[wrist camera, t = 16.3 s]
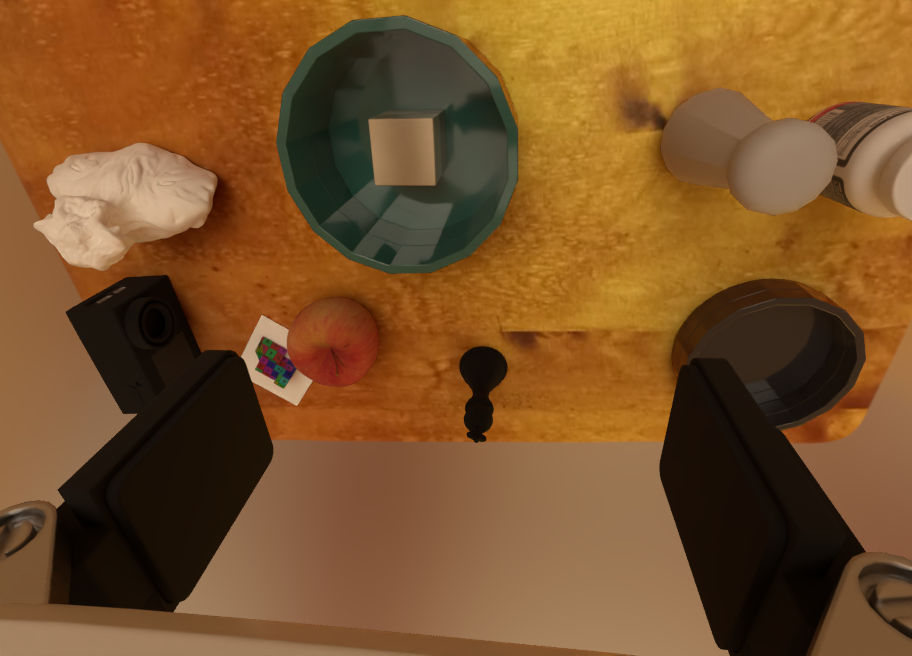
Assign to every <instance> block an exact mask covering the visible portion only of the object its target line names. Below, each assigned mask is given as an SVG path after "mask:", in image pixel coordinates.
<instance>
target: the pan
mask: <svg viewBox="0 0 912 656" xmlns="http://www.w3.org/2000/svg"><path fill="white" fill-rule="evenodd" d="M693 358H724V359H726V360H727V361H728V362H729V363H730V364H731V366H732V367H733V369H734V370H735V372H736V373H737V375H738V376H739V378H740V379H741V381H742V382H743V384H744V385H745V386H746V388H747V389H748V391H749V392H750V394H751V395H752V397H753V398H754V400H755V401H756V403H757V404H758V406H759V407H760V408H761V410H762V411H763V413H764V414H765V416H766V417H767V419H768V420H769V422H770V423H771V425H772V426H774V427H776V428H778V429H779V430H780V431H781V430H785V429H790V428H794V427H798V426H801V425H803V424H804V423H806V422H808V421H810V420H812V419H814V418H816V417H818V416H819V415H821V414H823V413H825V412H827V411H829V410H830V409H832V408H833V407H834V406H835V405H836V404H837V403H838V402H839V401H840V400H841V399H842V398H843V397H844V396H845V395H846V394H847V393H848V392H849V391H850V390H851V389H852V388H853V387H854V385H855V383H856V380H857V378H858V376H859V374H860V372H861V369H862V367H863V365H864V363H865V360H866V355H865V344H864V334H863V331H862V330H861V328H860V327H859V326H858V325H857V324H856V322H855V321H854V320H853V319H852V318H851V316H850V315H849V314H848V313H847V311H846V310H844V309H843V308H842V307H840V306H839V305H838V304H837V303H835V302H834V301H833V300H831V299H830V298H829V297H827V296H826V295H825V294H823V293H822V292H819V291H817V290H815V289H813V288H811V287H809V286H807V285H805V284H802V283H799V282H796V281H791V280H785V279H761V280H755V281H749V282H745V283H742V284H738V285H735V286H733V287H730V288H728V289H725V290H723V291H721V292H720V293H718V294H716V295H714V296H713V297H711V298H709V299H708V300H706V301H705V302H704V303H703V304H701V305H700V306H699V307H698V308H697V309H696V310H695V311H694V312H693V313H692V314H691V315H690V316H689V317H688V318H687V319H686V321H685V322H684V323H683V325H682V327H681V328H680V330H679V332H678V334H677V336H676V338H675V342H674V345H673V350H672V365H673V370H674V373H675V375H676V378H677V380H678V376H679V371H680V368H681V366H682V365H689V364H690V362H691V360H692V359H693Z"/></svg>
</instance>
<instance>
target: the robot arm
mask: <svg viewBox="0 0 912 656" xmlns="http://www.w3.org/2000/svg"><path fill="white" fill-rule="evenodd" d="M272 457H273V444H272V441H271V438H270V435H269V432H268V429H267V426H266V423H265V420H264V417H263V414H262V411H261V408H260V405H259V402H258V399H257V396H256V393H255V390H254V387H253V384H252V381H251V378H250V375H249V372H248V368H247V365H246V363H245V361H244V359H243V358H241V357H239V356H238V354H237V353H236V352H234V351H232V350H207V351H205V352H203V353H202V354H201V355H200V356H199V357H197V358H196V359H195V360H194V361H193V362H192V363H191V364H190V365H189V366H188V367H187V368H186V369H185V370H184V371H183V372H182V373H181V374H179V375H178V376H177V377H176V378H175V379H174V380H173V381H172V382H171V383H170V384H169V385H168V386H167V387H166V388H165V389H164V390H163V391H162V392H160V393H159V394H158V395H157V396H156V397H155V398H154V399H153V400H152V401H151V402H150V403H149V404H148V405H147V406H146V407H145V408H144V409H142V410H141V411H140V412H139V413H138V414H137V415H136V416H135V417H134V418H133V419H132V420H131V421H130V422H129V423H128V424H127V425H126V426H125V427H124V428H123V429H122V430H120V431H119V432H118V433H117V434H116V435H115V436H114V437H113V438H112V439H111V440H110V441H109V442H108V443H107V444H105V445H104V446H103V447H102V448H101V449H100V450H99V451H98V452H97V453H96V454H95V455H94V456H93V457H92V458H91V459H90V460H89V461H88V462H86V463H85V464H84V465H83V466H82V467H81V468H80V469H79V470H78V471H77V472H76V473H75V474H74V475H73V476H72V477H71V478H70V479H68V480H67V482H65V483H64V484H63V485H62V486H61V487H60V488H59V489H58V491H59V493H60V494H61V496H62V497H63V499H64V500H65V502H63V503H62V505H61V506H59V507H58V508H57V509H56V507H55V506H54V505H52V504H51V503H50V502H45V501H39V500H38V501H29V502H24V503H20V504H17V505H14V506H11V507H8V508H6V509H4V510H2V511H0V656H634V655H626V654H617V653H607V652H597V651H587V650H576V649H566V648H556V647H546V646H536V645H525V644H515V643H504V642H494V641H484V640H473V639H463V638H453V637H442V636H432V635H421V634H410V633H399V632H388V631H377V630H366V629H356V628H345V627H334V626H322V625H311V624H300V623H289V622H279V621H267V620H256V619H243V618H232V617H220V616H208V615H197V614H186V613H174V610H175V609H176V607H177V605H178V604H179V602H181V601H184V600H185V599H186V598H187V597H188V596H189V595H190V594H191V592H192V591H193V589H194V587H195V586H196V584H197V582H198V581H199V579H200V578H201V576H202V574H203V573H204V571H205V569H206V568H207V566H208V564H209V562H210V561H211V559H212V558H213V556H214V554H215V553H216V551H217V550H218V548H219V546H220V545H221V543H222V541H223V540H224V538H225V536H226V535H227V533H228V531H229V530H230V528H231V526H232V525H233V523H234V522H235V520H236V518H237V517H238V515H239V513H240V512H241V510H242V508H243V507H244V505H245V503H246V502H247V500H248V498H249V497H250V495H251V494H252V492H253V490H254V489H255V487H256V485H257V483H258V482H259V480H260V479H261V477H262V475H263V474H264V472H265V470H266V469H267V467H268V466H269V464H270V462H271V460H272ZM660 478H661V481H662V484H663V487H664V490H665V493H666V496H667V499H668V502H669V505H670V508H671V511H672V514H673V517H674V520H675V523H676V526H677V529H678V532H679V535H680V538H681V541H682V544H683V547H684V550H685V553H686V556H687V559H688V562H689V565H690V568H691V571H692V574H693V577H694V580H695V583H696V586H697V589H698V592H699V595H700V598H701V601H702V604H703V607H704V610H705V613H706V616H707V619H708V622H709V625H710V628H711V631H712V634H713V637H714V640H715V642H716V644H717V646H718V647H719V648H720V649H723V650H728V652H729V655H730V656H912V561H910V560H908V559H906V558H903V557H900V556H896V555H891V554H887V553H882V552H873V553H872V552H869V553H868V552H866V551H865V550H864V548H863V547H862V545H861V544H860V543H859V541H858V540H857V538H856V537H855V535H854V534H853V533H852V531H851V530H850V528H849V527H848V525H847V524H846V523H845V521H844V520H843V518H842V517H841V515H840V514H839V513H838V511H837V510H836V508H835V507H834V505H833V504H832V502H831V501H830V500H829V498H828V497H827V495H826V494H825V492H824V491H823V490H822V488H821V487H820V485H819V484H818V482H817V481H816V479H815V478H814V477H813V475H812V474H811V472H810V471H809V469H808V468H807V467H806V465H805V464H804V462H803V461H802V459H801V458H800V457H799V455H798V454H797V452H796V451H795V449H794V448H793V447H792V445H791V444H790V442H789V441H788V439H787V438H786V436H785V435H784V434H783V433H782V432H781V431H780V430H779V429H778V428H776V427H774V426H772V425H771V423H770V422H769V420H768V419H767V417H766V416H765V414H764V413H763V411H762V410H761V408H760V407H759V406H758V404H757V403H756V401H755V400H754V398H753V397H752V395H751V394H750V392H749V391H748V389H747V388H746V386H745V385H744V384H743V382H742V381H741V379H740V378H739V376H738V375H737V373H736V372H735V370H734V369H733V367H732V366H731V364H730V363H729V362H728V361H727V360H726V359H724V358H693V359H692V360H691V362H690V364H689V365H682V366H681V368H680V371H679V376H678V380H677V385H676V389H675V394H674V399H673V403H672V408H671V413H670V417H669V422H668V426H667V431H666V436H665V440H664V445H663V450H662V454H661V459H660Z"/></svg>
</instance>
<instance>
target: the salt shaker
mask: <svg viewBox="0 0 912 656" xmlns="http://www.w3.org/2000/svg"><path fill="white" fill-rule="evenodd" d="M660 150H661V153H662V156H663V159H664V162H665V165H666V168H667V169H668V170H669V171H670V172H671V173H672V174H673V175H674V176H675V177H676V178H677V179H678V180H679V181H682V182H687V183H691V184H696V185H702V186H712V187H719V188H726V189H730V193H731V194H732V195H733V196H734V197H735V198H736V199H737V200H738V201H739V202H740V203H741V204H742V205H743V206H744V207H745V208H746V209H747V210H751V211H755V212H760V213H765V214H769V215H779V214H784V213H789V212H795V211H797V210H798V209H800V208H801V207H803V206H805V205H806V204H808V203H810V202H811V201H813V200H815V199H816V198H817V196H818V195H819V194H820V193H821V192H822V191H823V190H824V188H825V187H826V186H827V185H828V184H829V183H830V182H831V179H832V176H833V173H834V170H835V167H836V164H837V161H838V159H837V151H836V144H835V140H834V139H833V138H832V137H831V136H830V135H829V134H828V133H827V132H826V131H825V130H824V129H823V128H822V127H820V126H819V125H817V124H816V123H812V122H808V121H804V120H800V119H796V118H785V119H781V120H777V121H773V120H771V119H770V118H769V117H767V116H766V115H765V114H764V113H763V112H762V111H761V110H760V109H758V108H757V107H756V106H755V105H754V104H753V103H752V102H751V101H750V100H748V99H747V98H746V97H745V96H744V95H743V94H742V93H740V92H736V91H732V90H728V89H724V88H717V89H713V90H710V91H706V92H702V93H699V94H695V95H694V96H692V97H691V98H690V99H688V100H687V101H685V102H684V103H683V104H681V105H680V106H678V107H677V108H676V109H675V111H674V112H673V114H672V116H671V117H670V119H669V121H668V122H667V124H666V125H665V127H664V130H663V136H662V141H661V146H660Z"/></svg>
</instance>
